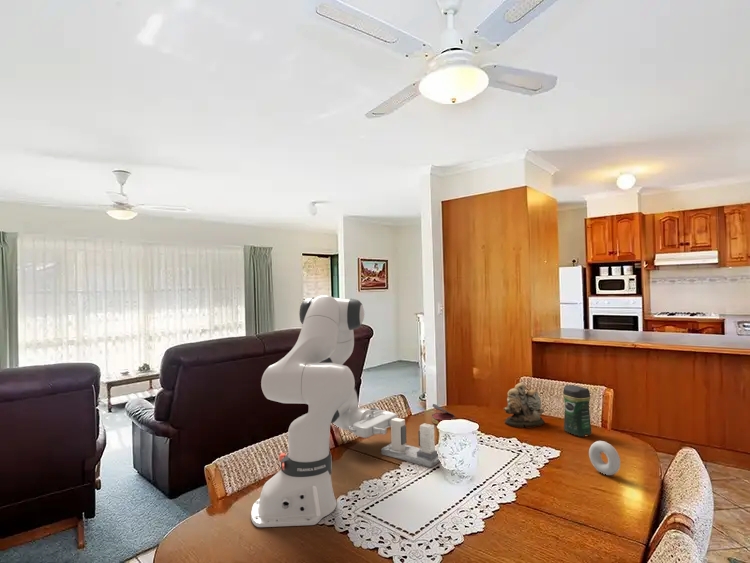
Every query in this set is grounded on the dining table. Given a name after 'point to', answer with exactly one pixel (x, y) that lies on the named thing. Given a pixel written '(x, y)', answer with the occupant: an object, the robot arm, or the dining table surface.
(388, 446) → the steel rail
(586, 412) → the coffee jar
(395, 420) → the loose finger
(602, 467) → the donut
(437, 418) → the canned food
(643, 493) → the dining table surface
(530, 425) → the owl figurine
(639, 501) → the dining table surface
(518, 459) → the dining table surface
